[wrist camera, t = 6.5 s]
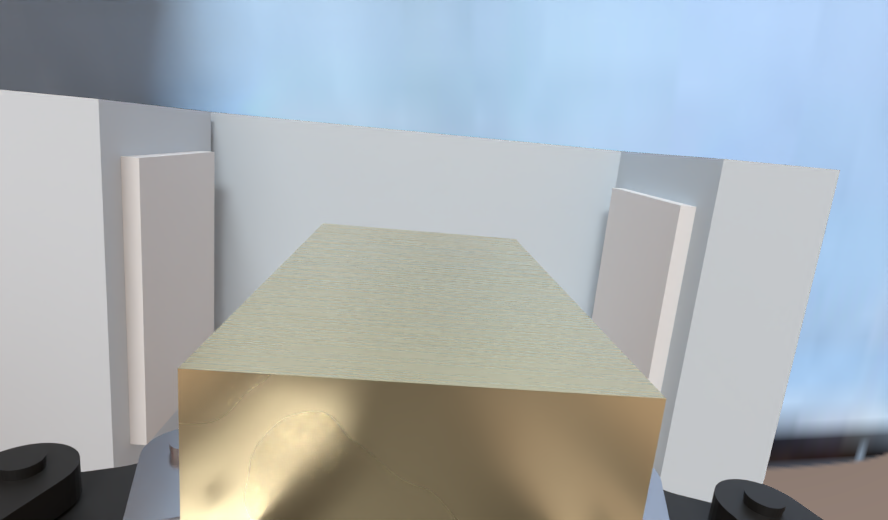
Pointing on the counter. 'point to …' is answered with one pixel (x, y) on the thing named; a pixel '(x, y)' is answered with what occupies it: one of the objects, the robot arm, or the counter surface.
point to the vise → (568, 252)
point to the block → (413, 392)
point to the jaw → (101, 269)
